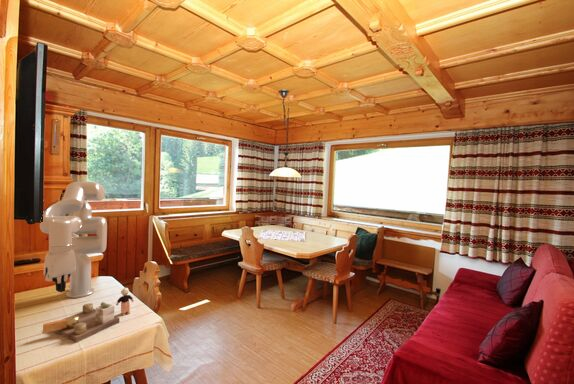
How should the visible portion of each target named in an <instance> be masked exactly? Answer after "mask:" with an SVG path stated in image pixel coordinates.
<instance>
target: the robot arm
mask: <svg viewBox="0 0 574 384" xmlns="http://www.w3.org/2000/svg"><path fill="white" fill-rule="evenodd" d="M105 191H106V190H105V188H104V186H103V185H101V183H98V182H95V181H74V182H70V183H69V184H67V186H66V188H65V191H64V194H63V196H62V199H61V200H59V201H56V202H55V203H54V204H51V205H50V206H48V207H47V208H46V209H45V210H44V212H43V214H42V216H43V222H41V221H40V222H41V223H40V222H39V229H40V231H41V232H42V233H43V234H48V252H47V253H45V254H46V255H45V257H44V261H43V262H44V263H43V276H44V277H45V279H44V281H46V282H53V283H54V284H55V290H56V292H58V293H63V292H65V291H66V288H67V287H68V289H69V291H67V292H65V296H66V298H70V299H79V298H83V297H88V296H91V294H93V293H94V292H95V288H93V287H92V260H91V258H90V256H88V255H91V254H92V255H93V254H101V253H104V252H105V251H106V249H107V242H108V241H107V240H108V239H107V238H108V223H107V219H106V217H104V216H93V215H92V214H93V213H92V212H93V211H92V210H93V207H92V206H91V204H90V203H89V202H90V201H94V202H95V201H100V202H101V201H102V200H103V199H104V198H105V195H106V192H105ZM69 214H72V215H69ZM73 234H77V235H88V234H89V235H90V234H91V235H92V236H75V237H73ZM93 234H96V235H93ZM68 279H69V284H68V286H67V284H66V283H67V281H68ZM66 286H67V287H66Z"/></svg>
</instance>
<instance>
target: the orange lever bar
mask: <svg viewBox="0 0 574 384" xmlns="http://www.w3.org/2000/svg"><path fill="white" fill-rule="evenodd" d="M73 315H74V316H72V315H70V316H67V317H68V318H67V317H65V318H66V319H65V318H63V320H62V319H60V320H55V321H54V320H53V321H51V322H50V321H49V322H47V323H43V324H42V334H46V333H51V332H52V331H56V330H60V329H65V328H67V329H73V328H74V326H75V325H76V324H78V323H79V316H77V315H75V314H73ZM52 333H53V332H52Z"/></svg>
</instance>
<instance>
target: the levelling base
mask: <svg viewBox="0 0 574 384" xmlns="http://www.w3.org/2000/svg"><path fill="white" fill-rule="evenodd" d="M74 315H77V316H79V323H78V324H76V325H75V326H74V328H73V329H67V328H65V329H60V330H56V331H52V333H55V334H57V335H59V336H61V337H63V338H66V339H68V340H70V341H73V342H74V343H79V342H81V341H83V340H85V339H88V338H90V337H91V336H94V335H95V334H97V333H100V332H102V331H104V330H107V329H109V328H110V327H112V326H114V325H117V324H119V323H120V317H118V316H115V305H113V304H111V303H108V302H104V301H102V302H100V306H97V307H95V308H94V304H93V303H85V304H82V311H81V312H78V313H76V314H73V315H71V316H74ZM68 317H69V316H67V317H65V318H63V319H66V318H68ZM63 319H61V320H63Z"/></svg>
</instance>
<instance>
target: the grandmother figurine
mask: <svg viewBox="0 0 574 384" xmlns="http://www.w3.org/2000/svg"><path fill="white" fill-rule="evenodd" d="M129 292H130V290H129V288H128V287H123V288H122V289H121V290H120V293H121V294H122V296H120V297H119V298H118V299H117V301H116V303H115V305H116V306H119V304H120V316H122V317H123V316H126V314H127V315H130V314H131V306H130V305H131V304H130V301H131V302H132V303H133V302H134V301H135V300H134V298H133V296H131V295H130V294H129Z"/></svg>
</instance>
